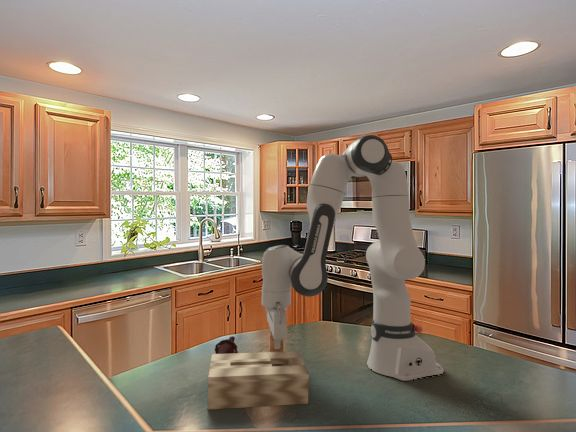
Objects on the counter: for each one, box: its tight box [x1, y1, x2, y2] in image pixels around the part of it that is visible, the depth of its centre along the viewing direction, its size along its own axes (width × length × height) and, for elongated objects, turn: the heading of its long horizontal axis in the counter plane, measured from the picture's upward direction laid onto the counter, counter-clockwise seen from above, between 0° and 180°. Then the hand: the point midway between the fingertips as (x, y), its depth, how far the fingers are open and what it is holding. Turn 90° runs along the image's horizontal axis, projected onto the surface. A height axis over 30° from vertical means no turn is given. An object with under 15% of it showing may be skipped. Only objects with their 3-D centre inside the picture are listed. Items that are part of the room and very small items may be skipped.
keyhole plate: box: [206, 350, 310, 410], centre depth 89 cm, size 24×14×8 cm, turn 99°
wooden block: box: [268, 331, 284, 352], centre depth 104 cm, size 4×4×9 cm
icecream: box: [214, 335, 239, 354], centre depth 108 cm, size 7×7×15 cm
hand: (275, 344), depth 104 cm, fingers closed on wooden block, 4 cm apart
